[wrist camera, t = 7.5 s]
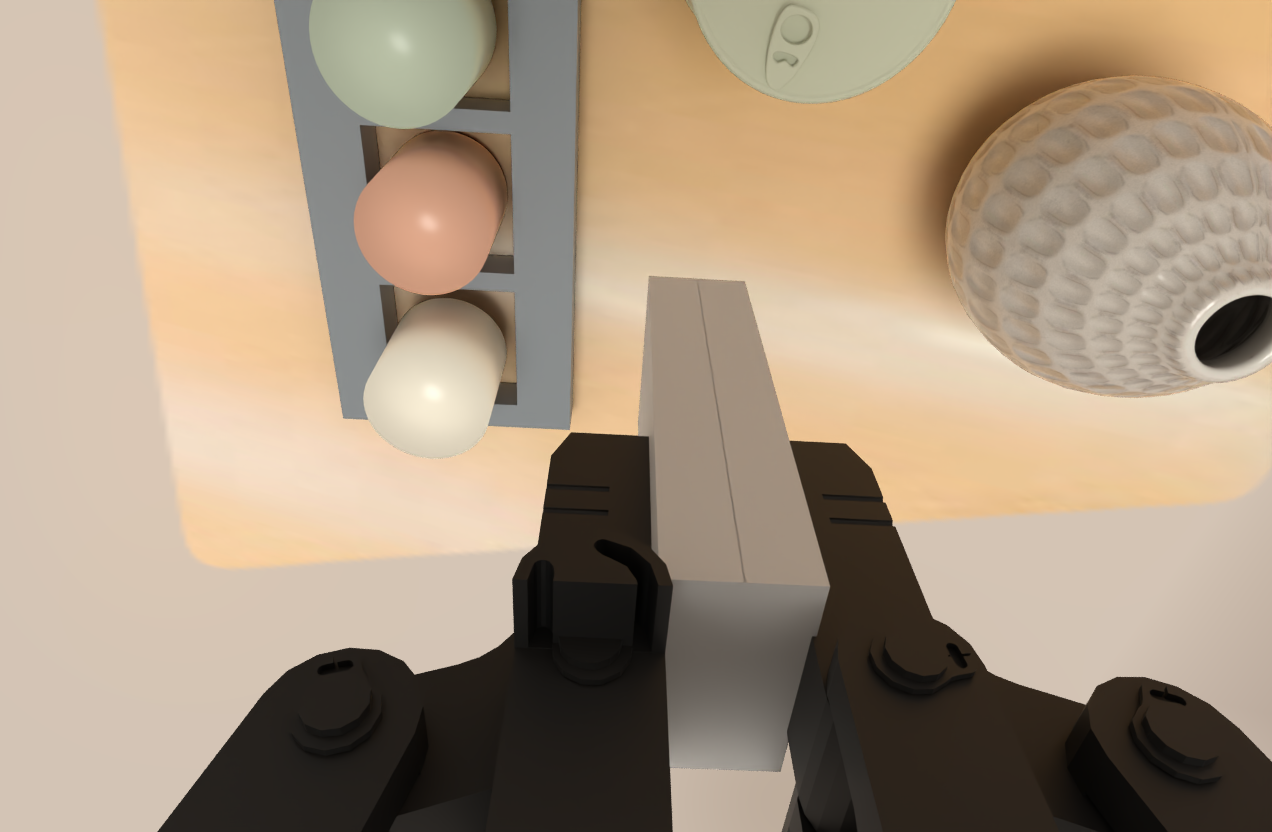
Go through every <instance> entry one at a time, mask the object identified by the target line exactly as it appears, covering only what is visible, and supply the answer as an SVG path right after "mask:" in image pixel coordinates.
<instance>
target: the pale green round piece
mask: <svg viewBox="0 0 1272 832" xmlns="http://www.w3.org/2000/svg"><path fill="white" fill-rule="evenodd" d="M496 32H497V27H496V17H495V12H494V8H493V5H492V1H491V0H313V1H312V5H311V10H310V16H309V35H310V43H311V47H312V52H313V55H314V58H315V61H316V64H317V66H318V68H319V70H320V72H321V74H322V76H323V78H324V79H325V81H326V83H327V84H328V86H329V87H330V88H331V90H332V91H333V92H334V94H335V95H336V96H337V97H338V98H339V99H340V100H341V101H342V102H343V103H344V104H345V105H346V106H348V107H349V108H350V109H351V110H353V111H354V112H355V113H357V114H358V115H360V116H362V117H363V118H365V119H367V120H369V121H371V122H374V123H376V124H379V125H382V126H386V127H390V128H398V129H411V128H418V127H422V126H426V125H429V124H431V123H433V122H435V121H438V120H439V119H441V118H442V117H444V116H445V115H446V114H448V113H449V112H450V111H451V110H452V109H453V108H454V107H455V106H456V105H457V103H458V102H459V101H460V100H461V99H462V97H463V96H464V95H465V94H466V93H467V92H468V90H469V89H470V88H471V87H472V86H473V85H474V83H475V82H476V81H477V80H478V79H479V77H480V76H481V75H482V74H483V73H484V71H485V70H486V68H487V66H488V65H489V63H490V60H491V58H492V55H493V52H494V49H495V43H496Z"/></svg>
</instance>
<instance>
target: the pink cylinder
mask: <svg viewBox="0 0 1272 832" xmlns="http://www.w3.org/2000/svg"><path fill="white" fill-rule="evenodd" d="M507 199H508V193H507V185H506V181H505V178H504V175H503V172H502V170H501V168H500V166H499V164H498V163H497V161H496V160H495V158H494V157H493V156H492V155H491V154H490V153H489V151H488V150H486V149H485V148H484V147H483V146H482V145H481V144H479V143H478V142H476V141H475V140H473V139H471V138H469V137H467V136H465V135H462V134H459V133H456V132H451V131H431V132H426V133H423V134H420V135H418V136H416V137H414V138H412V139H411V140H409V141H408V142H407V143H405V144H404V145H403V146H402V147H401V148H400V149H399V151H398V152H397V153H396V154H395V155H394V156H393V157H392V158H391V159H390V160H389V161H388V162H387V163H386V165H385V166H384V167H383V168H382V169H381V170H380V171H379V172H378V173H377V174H376V175H375V176H374V178H373V179H372V180H371V181H370V182H369V183H368V184H367V185H366V187H365V188H364V189H363V191H362V192H361V194H360V196H359V198H358V201H357V203H356V207H355V211H354V231H355V236H356V239H357V242H358V245H359V248H360V250H361V252H362V254H363V255H364V257H365V259H366V260H367V262H368V263H369V264H370V265H371V267H372V268H373V269H374V270H375V271H376V272H377V273H378V274H379V275H380V276H382V277H383V278H384V279H385V280H387V281H388V282H390V283H391V284H393V285H395V286H397V287H399V288H401V289H403V290H406V291H409V292H412V293H417V294H423V295H440V294H446V293H450V292H453V291H455V290H458V289H460V288H462V287H464V286H465V285H467V284H468V283H469V282H471V281H472V280H473V279H474V278H475V277H476V276H477V275H478V273H479V272H480V270H481V269H482V267H483V265H484V263H485V261H486V259H487V256H488V254H489V252H490V249H491V247H492V244H493V242H494V239H495V237H496V234H497V232H498V230H499V227H500V225H501V222H502V220H503V217H504V214H505V211H506V207H507Z"/></svg>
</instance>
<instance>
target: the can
mask: <svg viewBox="0 0 1272 832" xmlns="http://www.w3.org/2000/svg"><path fill="white" fill-rule="evenodd" d="M955 1H956V0H686V2H687V4H688V6H689V7H690V9H691V10H692V12H693V13H694V15H695V16H696V19H697V21H698V24H699V26H700V28H701V31H702V33H703V35H704V37H705V39H706V41H707V42H708V44H709V45H710V47H711V48H712V50H713V51H714V53H715V54H716V56H717V57H718V58H719V59H720V61H721V62H722V63H723V64H724V65H725V66H726V67H727V68H728V69H729V70H730V72H732V73H733V74H734V75H735V76H736V77H738V78H739V79H740V80H741V81H743V82H744V83H746V84H747V85H749V86H750V87H752V88H754V89H756V90H758V91H759V92H761V93H763V94H766V95H768V96H771V97H774V98H777V99H780V100H785V101H789V102H795V103H807V104H818V103H828V102H835V101H839V100H844V99H848V98H851V97H854V96H857V95H860V94H862V93H864V92H867V91H869V90H871V89H873V88H875V87H877V86H879V85H881V84H882V83H884V82H886V81H887V80H889V79H891V78H892V77H893V76H895V75H896V74H897V73H899V72H900V71H901V70H903V69H904V68H905V67H906V66H907V65H908V64H910V63H911V62H912V61H913V60H914V59H915V58H916V57H917V56H918V55H919V54H920V53H921V52H922V51H923V50H924V49H925V47H926V46H927V45H928V44H929V43H930V41H931V40H932V39H933V37H934V36H935V35H936V34H937V32H938V31H939V29H940V28H941V26H942V25H943V23H944V22H945V20H946V18H947V16H948V15H949V13H950V11H951V9H952V7H953V6H954V3H955Z"/></svg>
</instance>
